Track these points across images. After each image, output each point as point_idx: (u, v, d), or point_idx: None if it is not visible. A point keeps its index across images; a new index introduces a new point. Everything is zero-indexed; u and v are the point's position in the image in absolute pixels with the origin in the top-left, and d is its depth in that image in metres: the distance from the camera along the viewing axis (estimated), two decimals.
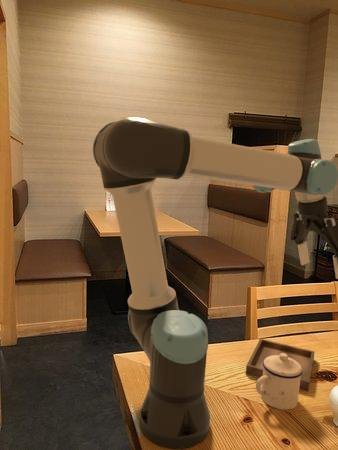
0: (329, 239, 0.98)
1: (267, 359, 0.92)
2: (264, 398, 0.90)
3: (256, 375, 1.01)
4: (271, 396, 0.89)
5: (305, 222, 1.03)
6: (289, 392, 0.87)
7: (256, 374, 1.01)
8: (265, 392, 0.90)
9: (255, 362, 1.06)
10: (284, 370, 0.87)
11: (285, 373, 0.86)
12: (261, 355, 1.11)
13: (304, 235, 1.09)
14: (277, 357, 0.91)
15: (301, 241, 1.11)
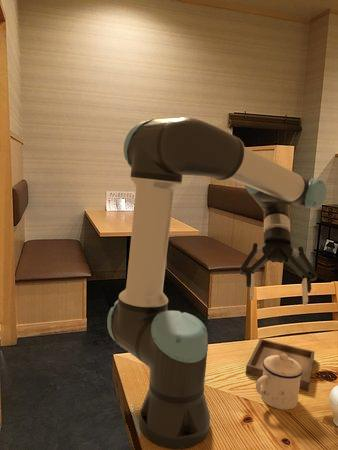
0: None
1: (267, 359, 0.92)
2: (264, 398, 0.90)
3: (256, 375, 1.01)
4: (271, 396, 0.89)
5: (273, 248, 1.05)
6: (289, 392, 0.87)
7: (256, 374, 1.01)
8: (265, 392, 0.90)
9: (255, 362, 1.06)
10: (284, 370, 0.87)
11: (285, 373, 0.86)
12: (261, 355, 1.11)
13: (258, 267, 1.04)
14: (277, 357, 0.91)
15: None
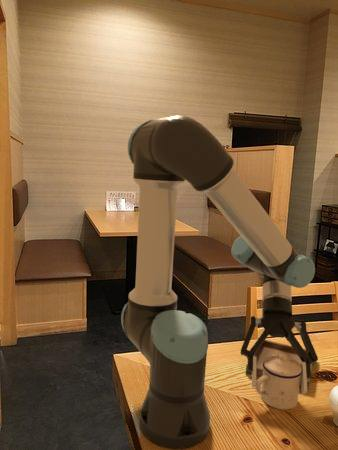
0: None
1: (267, 359, 0.92)
2: (264, 398, 0.90)
3: (256, 375, 1.01)
4: (271, 396, 0.89)
5: (273, 321, 0.95)
6: (289, 392, 0.87)
7: (256, 374, 1.01)
8: (265, 392, 0.90)
9: None
10: (284, 370, 0.87)
11: (285, 373, 0.86)
12: (261, 355, 1.11)
13: (260, 345, 0.94)
14: (277, 357, 0.91)
15: (252, 356, 0.93)
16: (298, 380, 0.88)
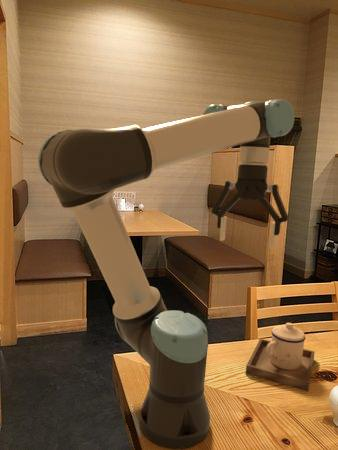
0: (270, 206, 0.98)
1: (275, 328, 1.07)
2: (272, 361, 1.06)
3: (256, 375, 1.01)
4: (279, 359, 1.04)
5: (244, 189, 0.99)
6: (294, 354, 1.02)
7: (256, 374, 1.01)
8: (273, 356, 1.05)
9: (255, 362, 1.06)
10: (290, 336, 1.02)
11: (291, 338, 1.02)
12: (261, 355, 1.11)
13: (230, 207, 1.03)
14: (284, 326, 1.06)
15: (223, 215, 1.04)
16: (302, 345, 1.03)
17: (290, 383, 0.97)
